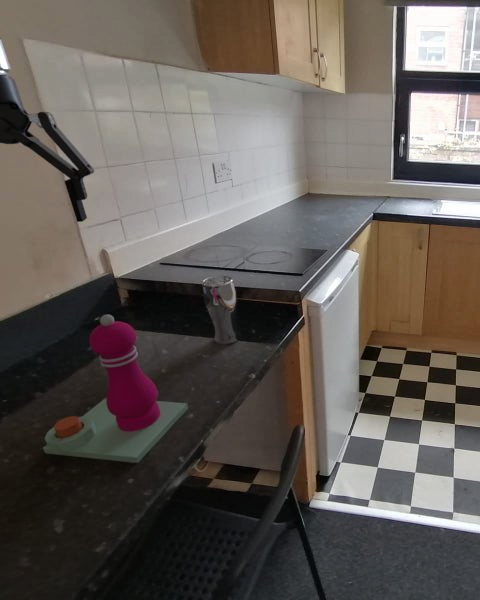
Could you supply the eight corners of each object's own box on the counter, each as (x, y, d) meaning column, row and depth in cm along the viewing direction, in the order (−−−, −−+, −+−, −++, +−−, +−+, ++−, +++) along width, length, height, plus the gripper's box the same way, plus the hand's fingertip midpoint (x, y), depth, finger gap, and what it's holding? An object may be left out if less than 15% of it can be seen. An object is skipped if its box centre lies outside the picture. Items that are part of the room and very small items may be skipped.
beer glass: (249, 335, 98) (240, 278, 92) (225, 348, 93) (213, 288, 87) (230, 329, 102) (220, 273, 96) (206, 340, 96) (193, 282, 90)
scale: (41, 456, 63) (34, 441, 62) (108, 401, 75) (104, 388, 74) (135, 466, 61) (130, 451, 60) (188, 408, 74) (185, 395, 72)
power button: (52, 437, 63) (48, 428, 62) (69, 423, 66) (66, 415, 65) (70, 439, 63) (66, 430, 62) (87, 425, 66) (84, 416, 65)
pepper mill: (143, 436, 65) (107, 328, 57) (104, 431, 66) (63, 324, 58) (172, 407, 72) (144, 306, 64) (136, 403, 73) (104, 303, 65)
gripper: (-173, 63, 49) (-88, 235, 57) (77, 75, 57) (117, 222, 66) (-128, 69, 55) (-58, 223, 64) (91, 79, 64) (125, 213, 73)
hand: (31, 223), depth 65 cm, fingers open, 13 cm apart
